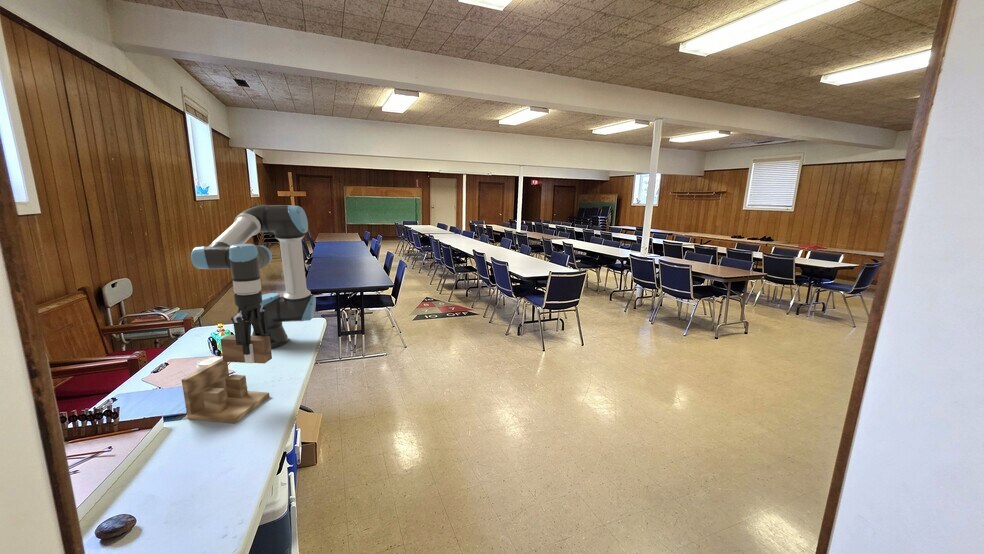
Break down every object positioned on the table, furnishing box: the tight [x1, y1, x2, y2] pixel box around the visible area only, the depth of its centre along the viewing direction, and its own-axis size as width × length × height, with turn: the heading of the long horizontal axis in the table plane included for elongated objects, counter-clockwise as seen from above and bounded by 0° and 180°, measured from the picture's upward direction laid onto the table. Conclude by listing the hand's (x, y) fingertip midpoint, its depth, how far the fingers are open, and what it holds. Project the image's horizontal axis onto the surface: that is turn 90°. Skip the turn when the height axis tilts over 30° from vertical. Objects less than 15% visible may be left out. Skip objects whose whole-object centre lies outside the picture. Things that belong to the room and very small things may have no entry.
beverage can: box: [195, 355, 223, 372], centre depth 134 cm, size 8×8×12 cm
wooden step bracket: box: [181, 357, 270, 424], centre depth 125 cm, size 16×16×14 cm
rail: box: [220, 334, 273, 364], centre depth 126 cm, size 4×14×8 cm, turn 88°
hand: (255, 359), depth 127 cm, fingers closed on rail, 4 cm apart
